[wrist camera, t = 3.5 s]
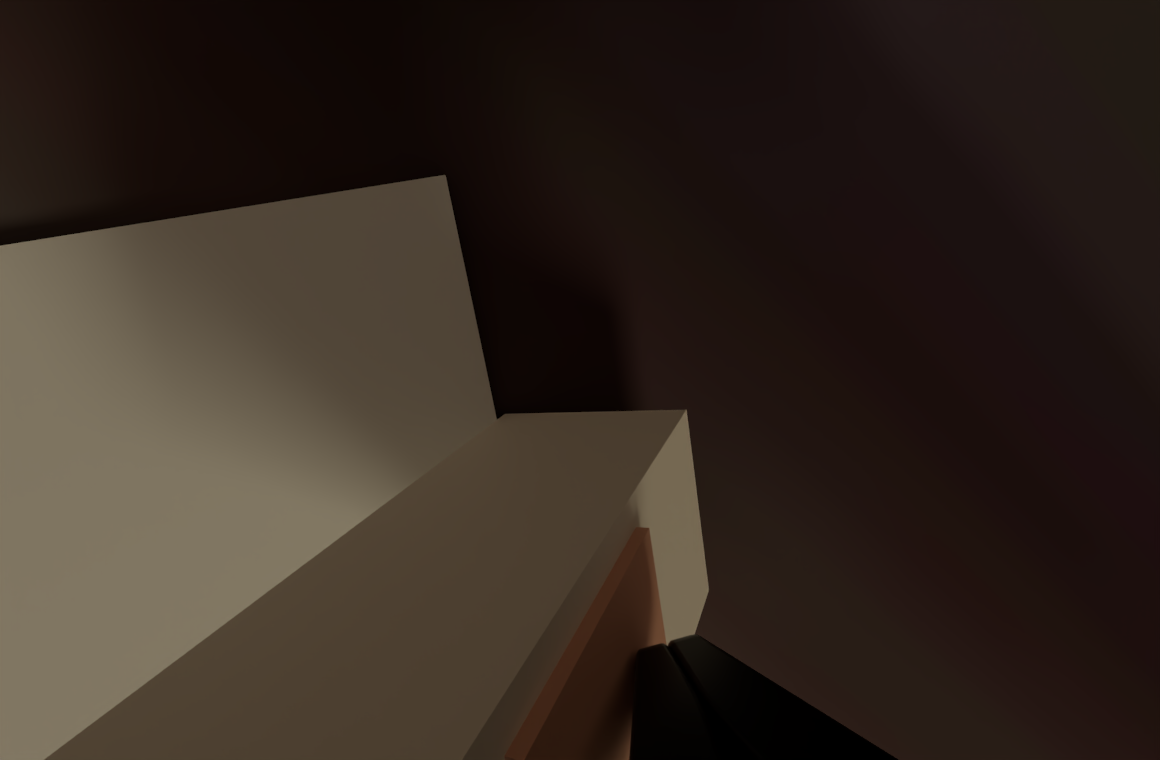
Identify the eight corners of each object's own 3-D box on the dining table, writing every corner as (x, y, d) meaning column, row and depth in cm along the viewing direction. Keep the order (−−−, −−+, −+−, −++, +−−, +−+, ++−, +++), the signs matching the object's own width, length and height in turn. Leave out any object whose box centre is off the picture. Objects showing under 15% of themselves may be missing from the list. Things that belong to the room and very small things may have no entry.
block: (696, 409, 12) (407, 892, 4) (718, 591, 13) (520, 1248, 5) (505, 413, 14) (41, 761, 6) (537, 574, 15) (183, 1051, 7)
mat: (445, 175, 12) (445, 175, 12) (565, 746, 16) (567, 756, 16) (-396, 310, 11) (-421, 312, 10) (-39, 918, 14) (-50, 932, 14)
